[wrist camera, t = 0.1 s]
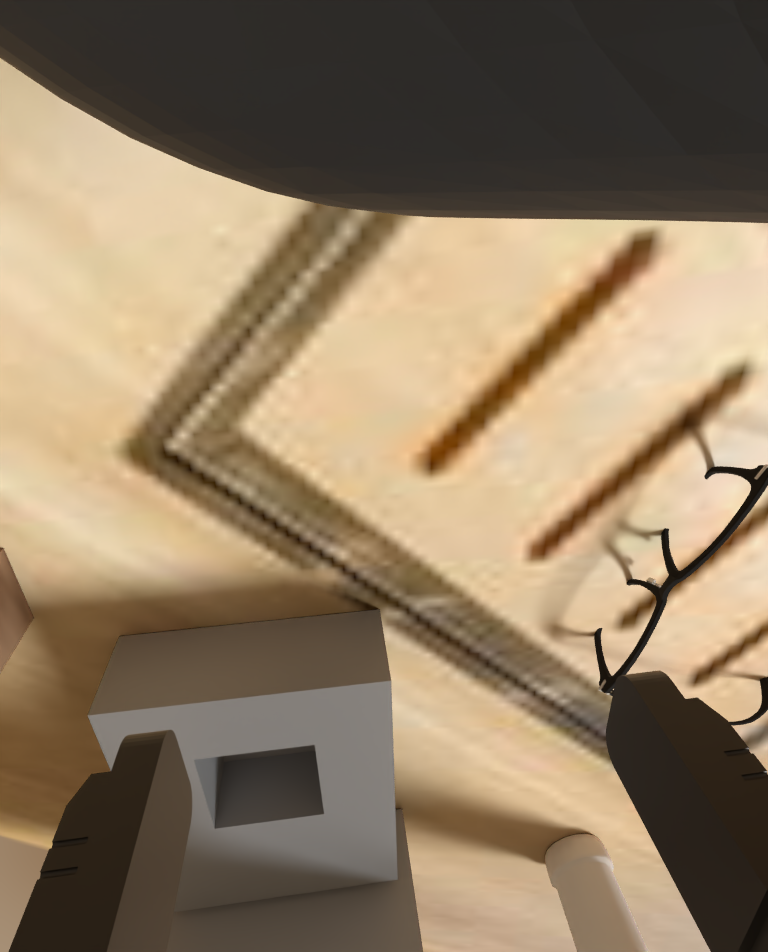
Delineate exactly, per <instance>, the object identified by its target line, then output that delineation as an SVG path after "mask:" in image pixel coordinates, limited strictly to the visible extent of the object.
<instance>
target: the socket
mask: <svg viewBox="0 0 768 952" xmlns="http://www.w3.org/2000/svg"><path fill="white" fill-rule="evenodd" d="M87 716H88V718H89V720H90V723H91V725H92V728H93V730H94V732H95V735H96V737H97V739H98V742H99V744H100V747H101V749H102V751H103V754H104V756H105V758H106V761H107V763H108V765H109V768H110V770H112V767H113V764H114V761H115V758H116V755H117V752H118V750H119V747H120V744H121V742H122V740H123V739H124V738H125V737H126V736H127V735H132V734H140V733H148V732H156V731H164V730H173V731H174V733H175V735H176V738H177V741H178V745H179V748H180V751H181V754H182V758H183V761H184V764H185V767H186V770H187V774H188V777H189V780H190V784H191V789H192V818H191V825H190V830H189V835H188V841H187V846H186V851H185V856H184V862H183V867H182V872H181V877H180V883H179V888H178V893H177V899H176V904H175V909H174V912H180V911H186V910H193V909H200V908H207V907H214V906H221V905H227V904H234V903H241V902H248V901H255V900H262V899H269V898H275V897H282V896H289V895H296V894H303V893H310V892H317V891H323V890H330V889H337V888H344V887H351V886H358V885H364V884H371V883H378V882H385V881H392V880H398V873H397V843H396V813H395V783H394V753H393V723H392V693H391V677H390V671H389V665H388V658H387V652H386V646H385V640H384V634H383V627H382V621H381V615H380V609H378V610H369V611H359V612H349V613H340V614H330V615H320V616H311V617H301V618H291V619H282V620H272V621H262V622H253V623H243V624H233V625H224V626H214V627H204V628H195V629H185V630H175V631H166V632H156V633H146V634H137V635H127V636H119V638H118V640H117V643H116V645H115V648H114V650H113V653H112V655H111V658H110V660H109V663H108V665H107V668H106V670H105V673H104V675H103V678H102V680H101V683H100V685H99V688H98V690H97V693H96V695H95V698H94V700H93V703H92V705H91V708H90V710H89V713H88V715H87Z"/></svg>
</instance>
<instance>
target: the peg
mask: <svg viewBox="0 0 768 952" xmlns="http://www.w3.org/2000/svg"><path fill="white" fill-rule="evenodd" d="M33 618H34V617H33V615H32V613H31V610H30V608H29V606H28V603H27V601H26V599H25V596H24V594H23V592H22V590H21V587H20V585H19V583H18V580H17V578H16V576H15V574H14V571H13V569H12V567H11V564H10V562H9V560H8V557H7V555H6V553H5V551H4V548H0V673H1V671H2V670H3V668H4V666H5V665H6V663H7V661H8V660H9V658H10V656H11V655H12V653H13V651H14V650H15V648H16V646H17V645H18V643H19V642H20V640H21V638H22V637H23V635H24V633H25V632H26V630H27V628H28V627H29V625H30V623H31V622H32V620H33Z"/></svg>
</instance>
